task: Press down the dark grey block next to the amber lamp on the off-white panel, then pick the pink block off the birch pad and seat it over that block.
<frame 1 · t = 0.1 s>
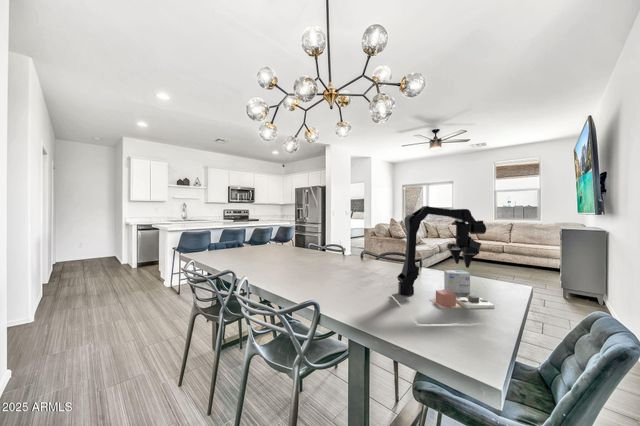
hand: (462, 265, 132), 15 cm above the table, tool pointing down, fingers open, 9 cm apart
breaker panel: (473, 305, 118), on the table
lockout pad: (445, 305, 118), on the table
pink block: (445, 303, 118), point 1 cm above the table, touching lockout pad
dark grey block: (473, 299, 118), point 3 cm above the table, slide at 0.0 cm
light bulb box: (456, 292, 137), on the table
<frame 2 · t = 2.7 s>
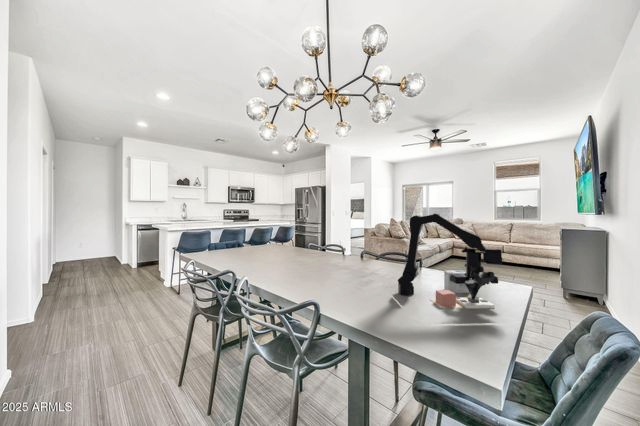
hand: (473, 298, 118), 3 cm above the table, tool pointing down, fingers closed, pressing on dark grey block
dark grey block: (473, 301, 118), point 2 cm above the table, slide at 0.7 cm, touching gripper
everything else where it was.
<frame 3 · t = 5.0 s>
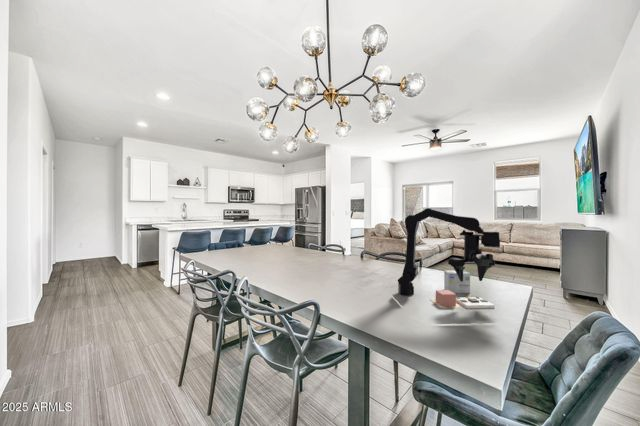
hand: (471, 281, 118), 11 cm above the table, tool pointing down, fingers open, 9 cm apart
dark grey block: (473, 302, 118), point 1 cm above the table, slide at 1.3 cm
everything else where it was.
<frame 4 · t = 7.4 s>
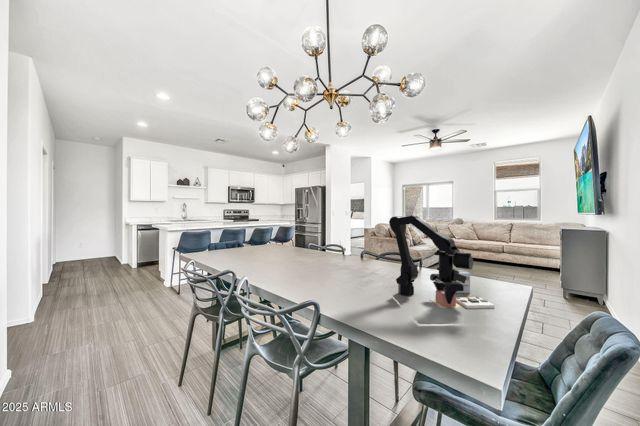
hand: (445, 301, 118), 2 cm above the table, tool pointing down, fingers closed on pink block, 6 cm apart
pink block: (445, 303, 118), point 1 cm above the table, touching gripper, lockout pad
everything else where it was.
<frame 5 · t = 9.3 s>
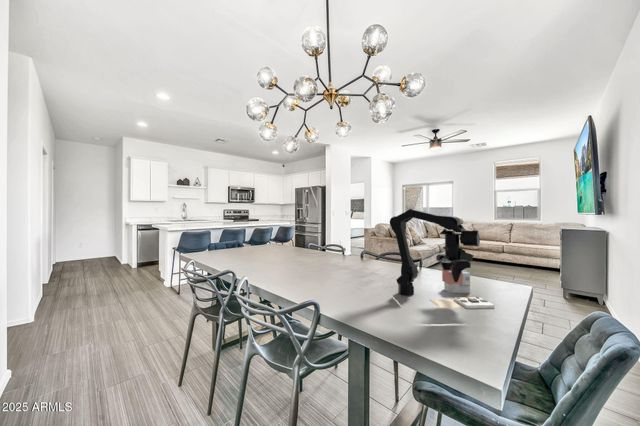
hand: (452, 280, 118), 11 cm above the table, tool pointing down, fingers closed on pink block, 6 cm apart
pink block: (452, 282, 118), point 10 cm above the table, touching gripper
everything else where it was.
when the fingers open (4 cm above the table, at t = 11.7 s): pink block stays where it is, resting on breaker panel.
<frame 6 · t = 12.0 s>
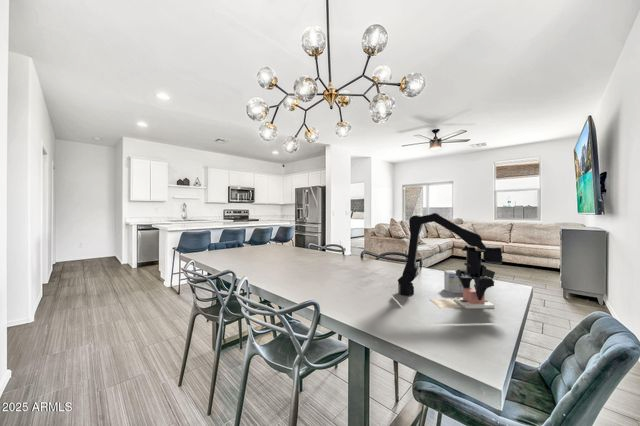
hand: (473, 296, 118), 4 cm above the table, tool pointing down, fingers open, 9 cm apart
pink block: (473, 301, 118), point 2 cm above the table, touching breaker panel
everything else where it was.
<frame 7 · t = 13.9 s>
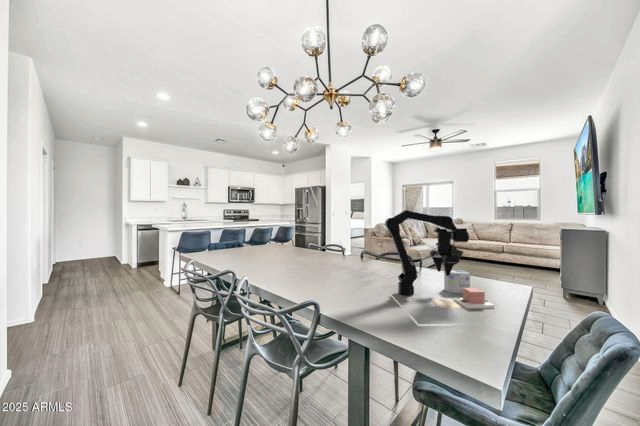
hand: (443, 273, 130), 11 cm above the table, tool pointing down, fingers open, 9 cm apart
nothing on the table moved.
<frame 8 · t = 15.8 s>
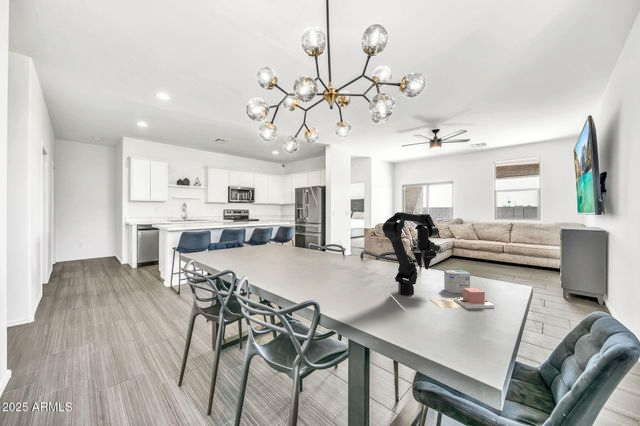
hand: (422, 267, 140), 12 cm above the table, tool pointing down, fingers open, 9 cm apart
nothing on the table moved.
at the end: dark grey block slide at 1.3 cm; pink block 0.0 cm off-centre on the breaker panel, point 2.0 cm above the breaker panel's base; pink block tilted 0° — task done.
